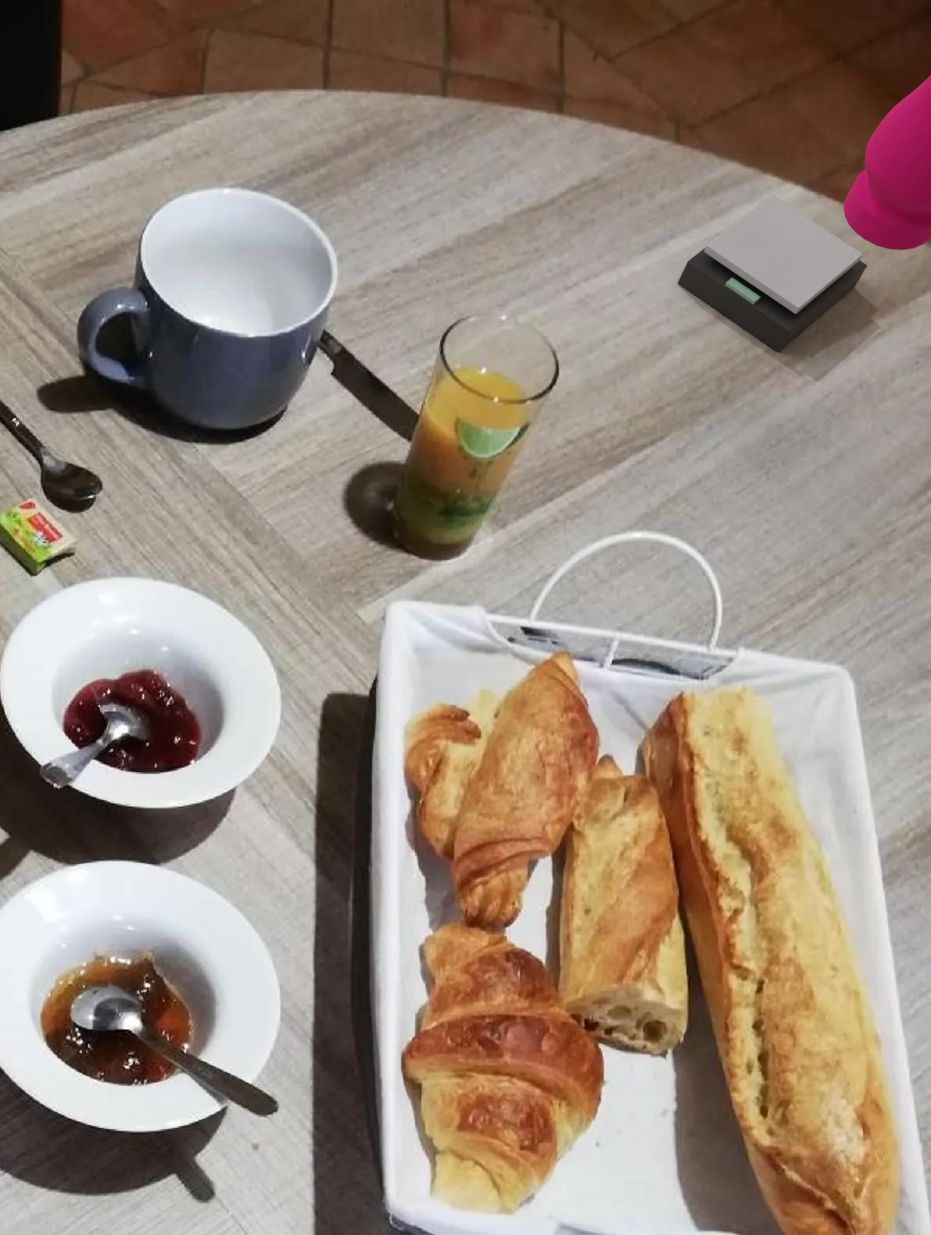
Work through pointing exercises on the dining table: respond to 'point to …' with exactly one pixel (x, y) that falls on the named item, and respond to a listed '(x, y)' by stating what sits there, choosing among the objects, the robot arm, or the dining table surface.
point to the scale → (773, 272)
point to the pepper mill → (896, 178)
